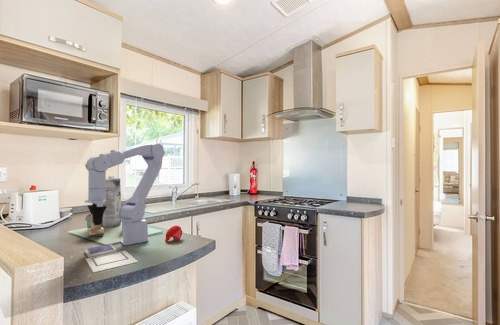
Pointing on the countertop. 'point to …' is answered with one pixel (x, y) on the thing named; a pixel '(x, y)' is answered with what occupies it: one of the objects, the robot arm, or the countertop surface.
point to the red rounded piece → (174, 233)
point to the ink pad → (100, 250)
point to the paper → (110, 261)
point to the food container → (88, 219)
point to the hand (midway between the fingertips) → (96, 224)
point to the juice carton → (112, 202)
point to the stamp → (95, 229)
